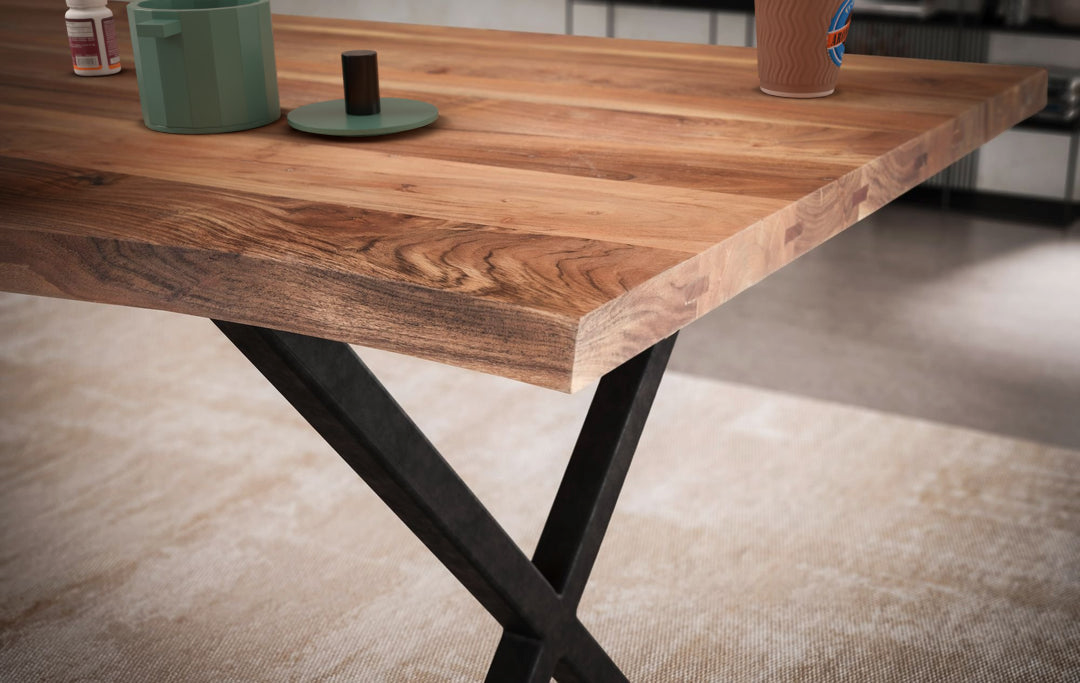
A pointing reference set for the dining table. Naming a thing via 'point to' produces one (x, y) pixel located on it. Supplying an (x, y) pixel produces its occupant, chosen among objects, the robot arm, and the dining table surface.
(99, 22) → the pill bottle
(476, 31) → the dining table surface
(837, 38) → the coffee cup
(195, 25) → the pot
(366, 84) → the lid
